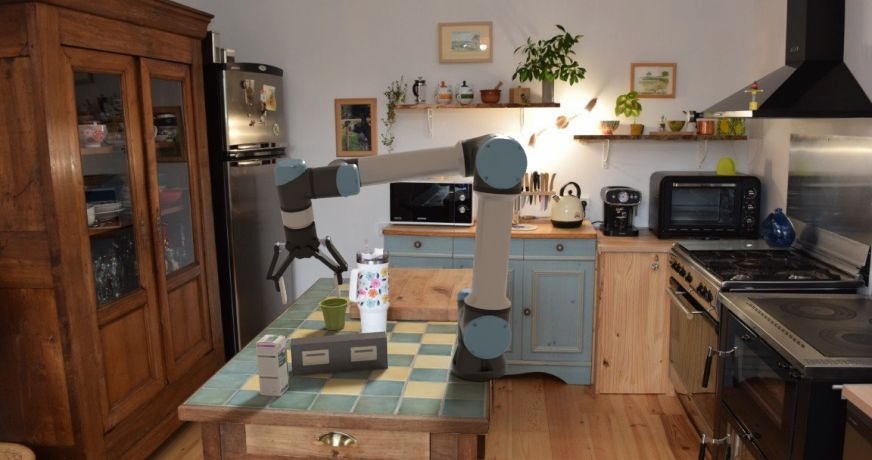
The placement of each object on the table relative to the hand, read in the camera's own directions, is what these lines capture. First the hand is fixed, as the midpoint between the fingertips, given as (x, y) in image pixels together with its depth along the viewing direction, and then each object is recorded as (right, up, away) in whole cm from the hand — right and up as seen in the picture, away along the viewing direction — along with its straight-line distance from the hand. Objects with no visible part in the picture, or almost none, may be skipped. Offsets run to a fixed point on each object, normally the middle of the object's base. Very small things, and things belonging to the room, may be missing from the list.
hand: (312, 298), depth 173 cm
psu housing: (+5, -21, +16) cm, 27 cm away
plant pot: (-1, -15, +49) cm, 52 cm away
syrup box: (-10, -24, +2) cm, 26 cm away
